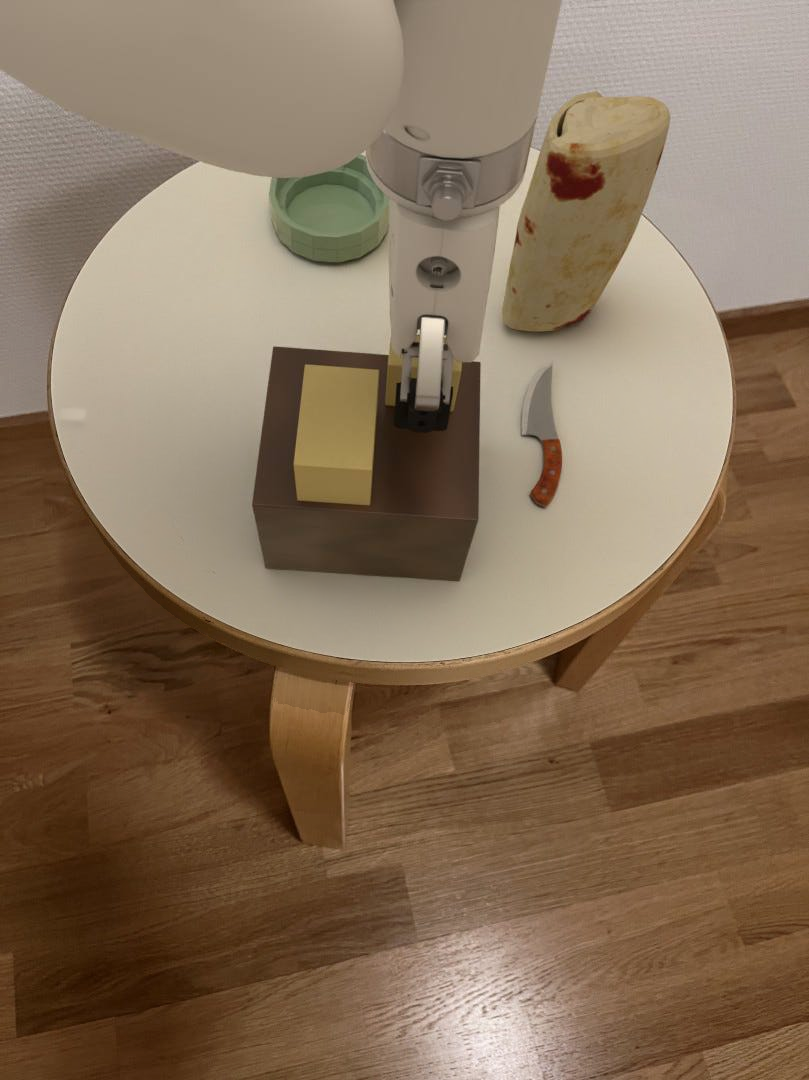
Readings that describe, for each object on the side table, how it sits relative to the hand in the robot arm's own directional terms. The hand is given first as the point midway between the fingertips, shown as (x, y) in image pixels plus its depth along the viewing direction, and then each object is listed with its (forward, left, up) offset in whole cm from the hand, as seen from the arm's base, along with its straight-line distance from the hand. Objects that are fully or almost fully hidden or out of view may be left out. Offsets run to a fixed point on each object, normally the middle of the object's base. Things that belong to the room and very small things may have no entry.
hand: (423, 359), depth 56 cm
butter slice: (0, 0, -4) cm, 4 cm away
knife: (+10, +4, -14) cm, 17 cm away
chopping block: (-3, -3, -14) cm, 14 cm away
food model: (+11, +16, -14) cm, 24 cm away
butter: (-5, -5, -4) cm, 8 cm away
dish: (-8, +24, -14) cm, 28 cm away
